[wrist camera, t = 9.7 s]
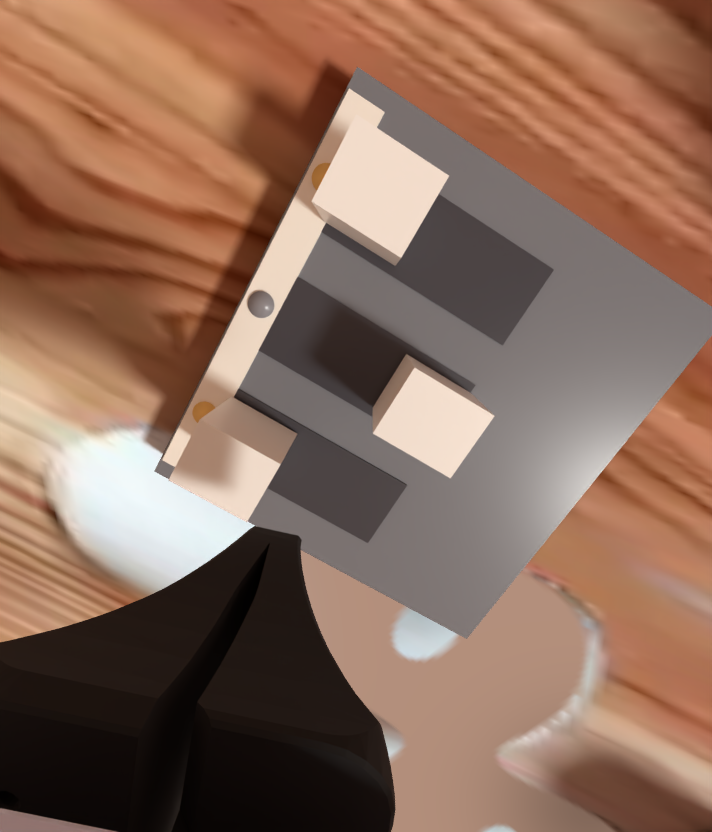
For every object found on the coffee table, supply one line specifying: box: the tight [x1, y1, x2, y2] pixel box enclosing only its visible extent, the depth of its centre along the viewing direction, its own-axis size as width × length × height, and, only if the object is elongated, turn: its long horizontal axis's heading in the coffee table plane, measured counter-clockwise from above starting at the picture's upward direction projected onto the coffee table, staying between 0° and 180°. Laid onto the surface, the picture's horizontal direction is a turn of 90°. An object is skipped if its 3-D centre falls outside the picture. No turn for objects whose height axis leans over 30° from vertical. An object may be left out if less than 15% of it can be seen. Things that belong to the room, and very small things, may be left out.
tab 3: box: [373, 354, 494, 478], centre depth 16 cm, size 3×2×3 cm
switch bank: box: [155, 67, 712, 638], centre depth 18 cm, size 16×17×2 cm
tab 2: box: [312, 114, 449, 266], centre depth 14 cm, size 3×2×3 cm
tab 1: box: [169, 397, 297, 522], centre depth 16 cm, size 3×2×3 cm
